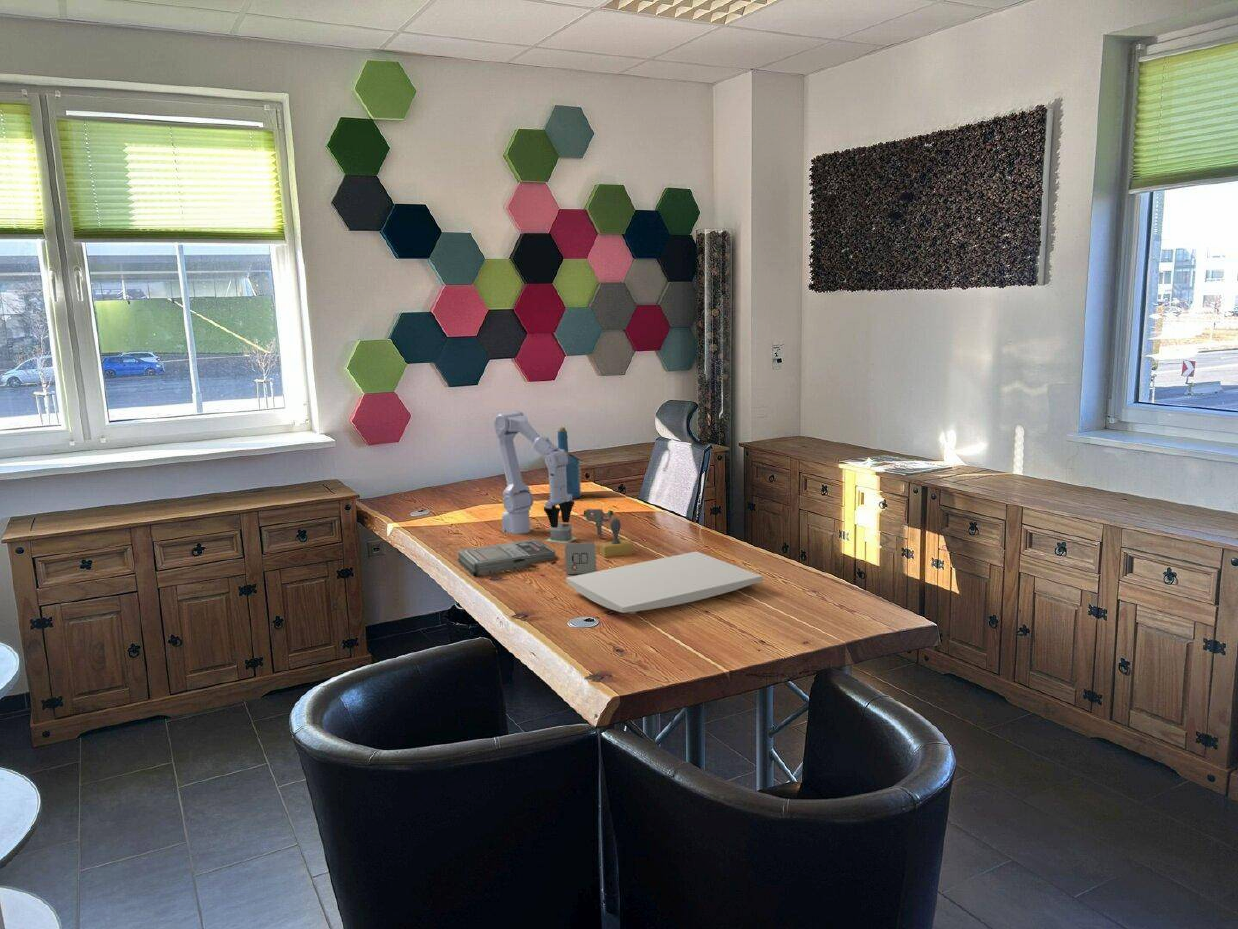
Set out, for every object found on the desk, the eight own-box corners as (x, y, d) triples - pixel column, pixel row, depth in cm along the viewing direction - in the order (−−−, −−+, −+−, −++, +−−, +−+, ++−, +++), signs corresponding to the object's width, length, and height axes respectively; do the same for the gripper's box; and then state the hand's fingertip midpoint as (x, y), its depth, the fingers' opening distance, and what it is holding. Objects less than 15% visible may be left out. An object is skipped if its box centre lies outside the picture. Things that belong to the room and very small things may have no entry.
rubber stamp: (605, 558, 297) (603, 521, 295) (599, 553, 303) (597, 518, 301) (633, 554, 301) (632, 518, 298) (627, 550, 306) (626, 514, 304)
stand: (544, 544, 316) (544, 540, 316) (555, 540, 322) (555, 535, 322) (567, 547, 312) (567, 543, 312) (577, 542, 318) (577, 537, 318)
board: (623, 625, 236) (622, 607, 235) (566, 593, 263) (565, 577, 263) (762, 592, 258) (762, 576, 257) (696, 566, 285) (696, 551, 284)
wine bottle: (543, 499, 390) (539, 428, 385) (562, 493, 401) (559, 424, 395) (569, 502, 382) (565, 430, 377) (588, 496, 393) (585, 426, 388)
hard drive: (458, 563, 299) (457, 550, 298) (537, 551, 309) (536, 538, 309) (473, 578, 282) (473, 564, 281) (556, 565, 293) (556, 551, 292)
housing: (550, 540, 316) (550, 525, 315) (556, 537, 320) (556, 523, 319) (566, 541, 314) (565, 527, 313) (571, 538, 317) (571, 524, 316)
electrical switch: (565, 575, 280) (564, 544, 279) (566, 571, 285) (565, 542, 285) (596, 574, 280) (595, 543, 279) (596, 570, 285) (595, 541, 285)
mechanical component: (613, 539, 320) (611, 511, 318) (584, 538, 322) (583, 510, 320) (614, 537, 323) (613, 509, 321) (586, 536, 325) (585, 509, 323)
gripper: (557, 490, 305) (559, 530, 308) (579, 482, 318) (580, 520, 320) (539, 489, 308) (541, 528, 311) (561, 481, 321) (563, 519, 324)
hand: (560, 524), depth 316 cm, fingers open, 7 cm apart
